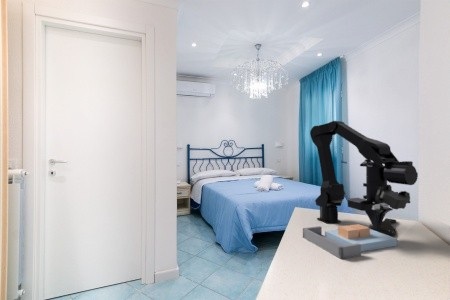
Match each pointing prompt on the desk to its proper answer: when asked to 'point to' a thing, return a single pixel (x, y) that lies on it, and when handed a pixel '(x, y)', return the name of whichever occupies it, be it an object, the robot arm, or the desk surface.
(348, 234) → the tile
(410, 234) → the desk surface
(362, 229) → the tile
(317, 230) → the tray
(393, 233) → the black spiral-grooved part
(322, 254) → the desk surface
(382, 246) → the board
